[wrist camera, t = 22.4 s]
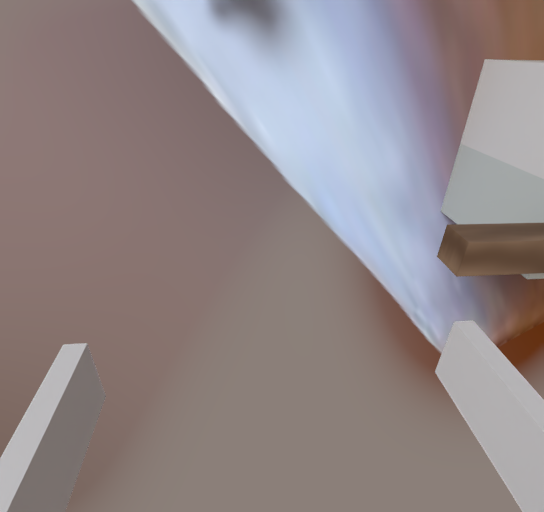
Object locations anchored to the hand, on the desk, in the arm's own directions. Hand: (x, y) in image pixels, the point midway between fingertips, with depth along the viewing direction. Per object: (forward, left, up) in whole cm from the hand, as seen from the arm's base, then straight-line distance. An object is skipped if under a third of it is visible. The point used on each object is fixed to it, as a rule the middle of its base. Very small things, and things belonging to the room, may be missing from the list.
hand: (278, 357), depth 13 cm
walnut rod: (0, +33, -19) cm, 38 cm away
